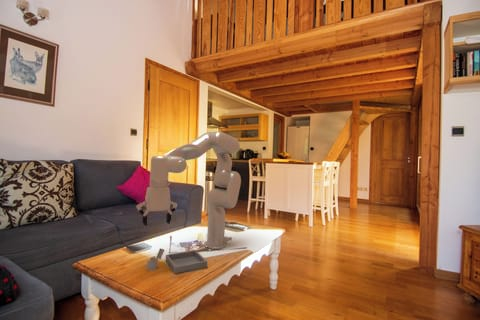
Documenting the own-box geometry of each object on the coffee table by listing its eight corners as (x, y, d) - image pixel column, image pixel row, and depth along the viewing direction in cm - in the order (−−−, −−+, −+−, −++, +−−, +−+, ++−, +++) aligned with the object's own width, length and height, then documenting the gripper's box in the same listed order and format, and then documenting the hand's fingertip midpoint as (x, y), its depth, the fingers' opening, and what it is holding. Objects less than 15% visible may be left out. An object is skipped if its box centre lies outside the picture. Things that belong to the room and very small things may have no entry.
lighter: (148, 271, 105) (149, 252, 105) (146, 269, 107) (147, 251, 107) (163, 266, 111) (164, 248, 111) (161, 265, 112) (162, 247, 112)
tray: (195, 256, 124) (195, 250, 124) (207, 267, 111) (207, 261, 111) (165, 261, 116) (165, 254, 116) (174, 274, 104) (174, 267, 104)
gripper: (175, 183, 116) (174, 220, 116) (136, 183, 107) (134, 223, 107) (181, 185, 110) (179, 224, 110) (139, 185, 101) (136, 228, 101)
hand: (156, 223), depth 108 cm, fingers open, 9 cm apart
